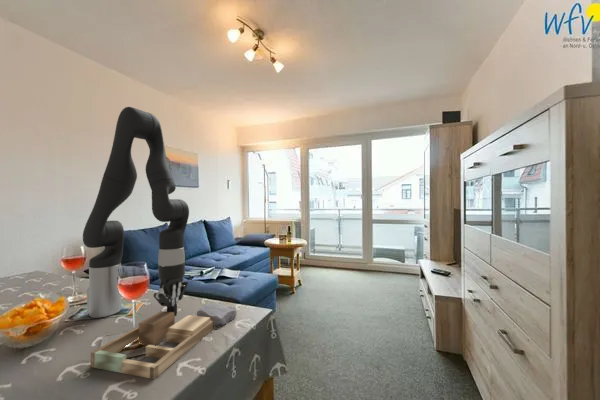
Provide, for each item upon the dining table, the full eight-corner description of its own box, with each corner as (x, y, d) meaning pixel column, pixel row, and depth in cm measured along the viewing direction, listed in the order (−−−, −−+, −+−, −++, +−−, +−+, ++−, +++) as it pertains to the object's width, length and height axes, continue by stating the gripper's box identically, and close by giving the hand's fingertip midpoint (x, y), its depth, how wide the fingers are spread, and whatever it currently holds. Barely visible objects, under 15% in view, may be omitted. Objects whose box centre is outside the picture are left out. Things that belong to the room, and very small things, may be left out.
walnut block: (138, 344, 70) (138, 322, 71) (160, 330, 78) (160, 310, 78) (153, 346, 69) (153, 324, 69) (174, 332, 77) (174, 312, 77)
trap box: (90, 367, 61) (90, 352, 61) (163, 322, 83) (163, 312, 83) (154, 379, 56) (154, 363, 57) (212, 329, 79) (212, 317, 79)
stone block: (215, 314, 94) (193, 320, 85) (217, 301, 94) (195, 305, 86) (240, 322, 88) (219, 329, 79) (242, 308, 89) (221, 313, 80)
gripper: (176, 257, 87) (176, 307, 87) (144, 266, 74) (144, 325, 74) (195, 258, 86) (195, 309, 85) (166, 267, 73) (166, 328, 72)
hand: (172, 316), depth 80 cm, fingers closed
